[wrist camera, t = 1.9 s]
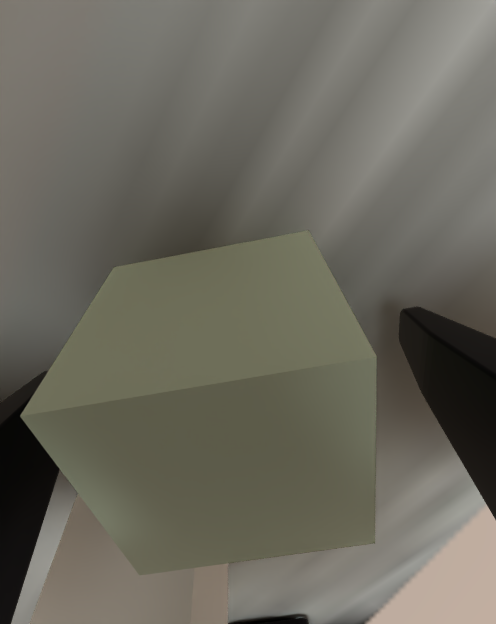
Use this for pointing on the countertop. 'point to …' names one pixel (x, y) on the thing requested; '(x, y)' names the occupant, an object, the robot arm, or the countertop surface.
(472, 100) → the countertop surface
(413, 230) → the countertop surface
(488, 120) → the countertop surface
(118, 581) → the white cube
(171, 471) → the sage cube
